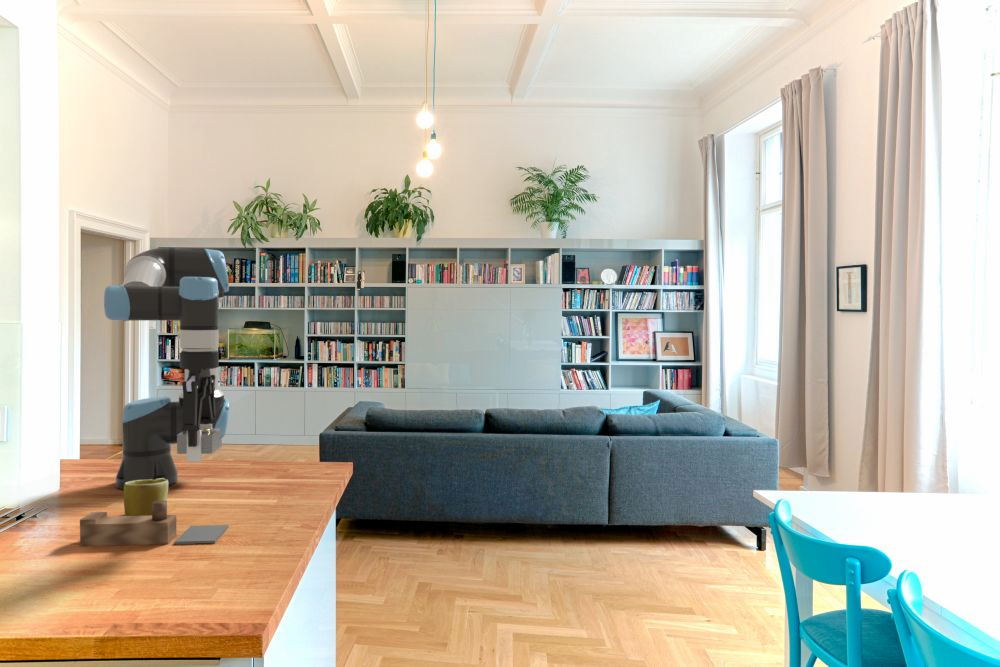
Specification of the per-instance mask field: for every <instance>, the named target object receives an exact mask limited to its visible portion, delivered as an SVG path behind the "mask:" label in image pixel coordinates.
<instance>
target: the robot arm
mask: <svg viewBox="0 0 1000 667" xmlns="http://www.w3.org/2000/svg"><path fill="white" fill-rule="evenodd" d="M227 270H228V269H227V263H226V258H225V255H224V253H223V252H222V250H221V251H220V250H218V249H210V248H186V247H185V248H184V247H183V248H182V247H156V248H152V249H148V250H145V251H142V252H140V253H138V254H136V255H134V256H133V257H131V259H129V261H127V263H126V265H125V268H124V272H123V273H124V274H123V275H124V280H123V283H122V284H117V285H108V286H106V287H105V289H104V294H103V298H104V299H103V306H104V309H103V310H104V314H105V315H104V316H105V317H106V318H107V320H110V321H122V322H128V321H132V322H133V321H179V334H177V338H178V339H179V348H180V349H182V350H181V351H180V352H179V368H180V369H182V370H184V380H183V381H182V383H181V384H182V392H180V393H179V395H178V401H172V400H171V399H172V398H170V397H169V396H165V395H164V396H154V397H147V398H142V399H137V400H134V401H131V402H128V403H126V404H125V405H124V407H123V408H122V420H121V424H122V459H121V462H120V466H119V467H118V470H117V473H116V476H115V488H117V489H118V490H123V491H124V485H125V483H126V482H129V481H135V480H148V479H152V480H156V479H159V478H164V479H167V480H168V486H171V485H174V484H175V483H177V482H178V480H179V474H178V470H177V467H176V464H175V462H174V459H173V456H172V453H171V452H172V451H171V450H172V449H171V445H173V444H175V445H177V435H178V434H179V433H181V432H183V431H187V454H186V463H197V462H198V463H200V462H201V463H202V459H203V458H202V455H203V454H202V443H201V430H199V429H207V428H208V429H221V431H222V439H224V438H225V436H226V434H227V428H228V427H227V426H228V422H229V413H230V412H229V409H230V400H229V399H227V398H225V393H224V392H223V391H222V390H221V389H220V388H219V364H220V363H219V358H220V357H219V347H220V345H219V344H220V341H219V340H220V338H219V334H220V332H219V303H220V302H221V301H222V300H223V299H224V294H225V293H227V292H229V291H230V285H229V277H228V271H227ZM212 454H213V453H206V454H205V455H212Z"/></svg>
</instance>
